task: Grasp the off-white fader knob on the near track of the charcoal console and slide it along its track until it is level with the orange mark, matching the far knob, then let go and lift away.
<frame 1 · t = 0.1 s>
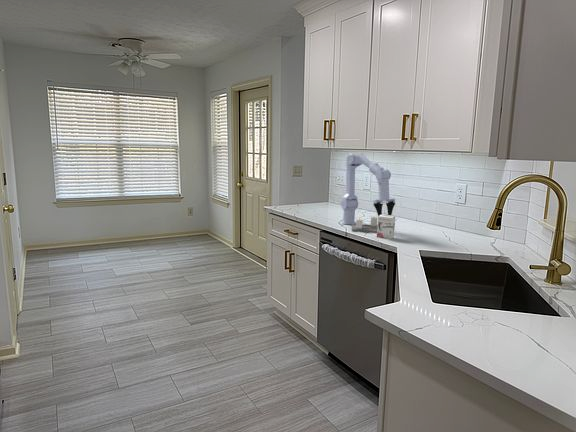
hand: (384, 215, 229), 10 cm above the worktop, tool pointing down, fingers open, 7 cm apart
near fader knob: (359, 223, 237), point 4 cm above the worktop, slide at 0.0 cm
console: (367, 229, 241), on the worktop
ink box: (385, 237, 222), on the worktop
far fader knob: (373, 227, 245), resting on console
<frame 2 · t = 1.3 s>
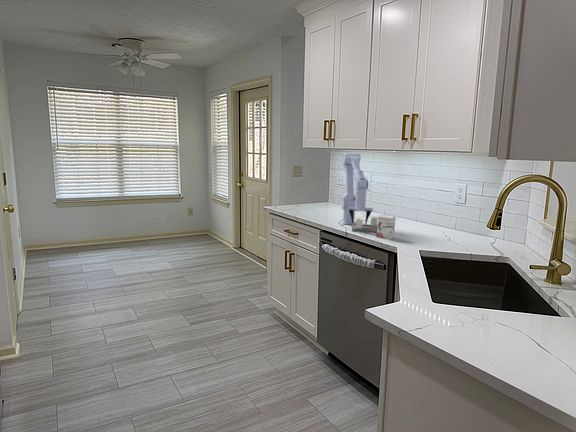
hand: (359, 223, 237), 4 cm above the worktop, tool pointing down, fingers open, 7 cm apart
nothing on the worktop moved.
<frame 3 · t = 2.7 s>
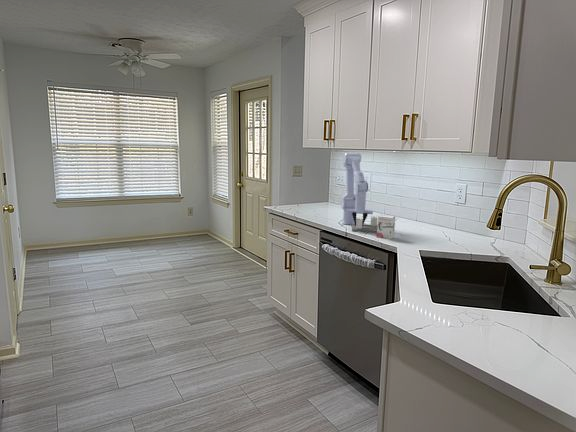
hand: (359, 225, 237), 3 cm above the worktop, tool pointing down, fingers closed on near fader knob, 3 cm apart
near fader knob: (359, 223, 237), point 4 cm above the worktop, slide at 0.0 cm, touching gripper
everything else where it was.
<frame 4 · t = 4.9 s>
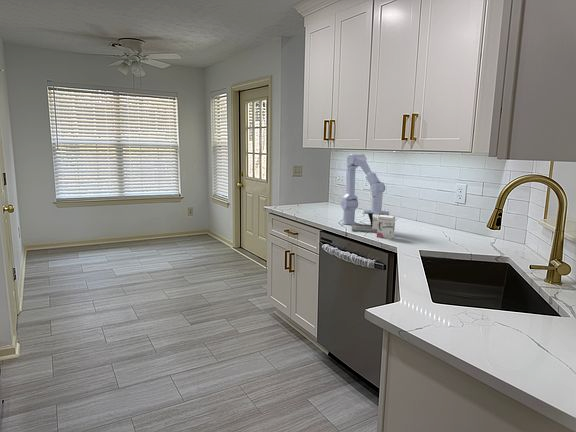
hand: (375, 226, 236), 3 cm above the worktop, tool pointing down, fingers closed on near fader knob, 3 cm apart
near fader knob: (375, 224, 236), point 4 cm above the worktop, slide at 9.3 cm, touching gripper
everything else where it was.
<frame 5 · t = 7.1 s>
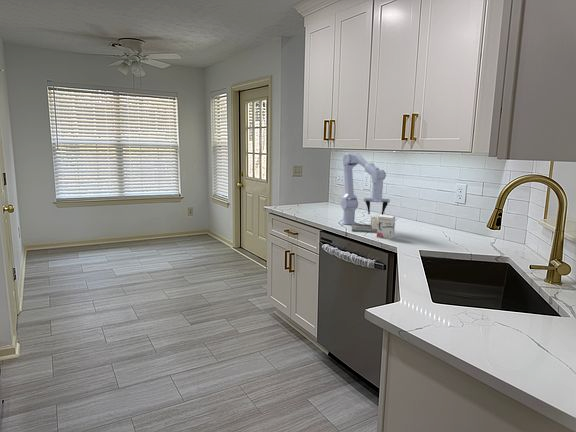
hand: (375, 214, 235), 10 cm above the worktop, tool pointing down, fingers open, 7 cm apart
near fader knob: (375, 224, 236), point 4 cm above the worktop, slide at 9.3 cm
everything else where it was.
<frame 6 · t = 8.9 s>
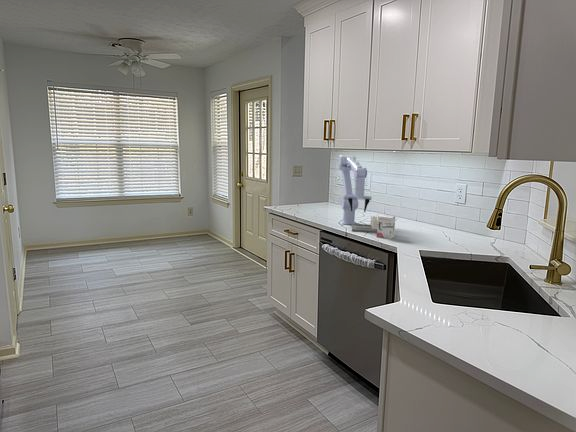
hand: (358, 211, 240), 10 cm above the worktop, tool pointing down, fingers open, 7 cm apart
nothing on the worktop moved.
at the end: near fader knob slide at 9.3 cm; the gripper is holding nothing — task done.
